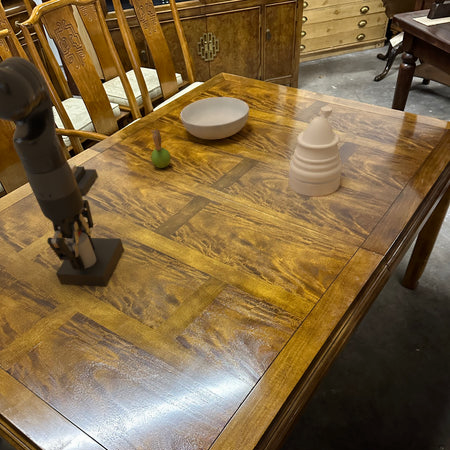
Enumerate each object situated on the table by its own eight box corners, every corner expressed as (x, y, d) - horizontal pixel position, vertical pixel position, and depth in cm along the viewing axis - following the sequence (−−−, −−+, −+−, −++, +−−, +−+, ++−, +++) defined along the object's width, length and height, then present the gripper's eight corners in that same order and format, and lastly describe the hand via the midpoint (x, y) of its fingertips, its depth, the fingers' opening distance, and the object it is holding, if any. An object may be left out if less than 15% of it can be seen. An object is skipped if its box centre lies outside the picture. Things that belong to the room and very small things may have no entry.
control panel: (60, 284, 87) (55, 273, 85) (82, 247, 95) (78, 237, 93) (106, 286, 86) (102, 275, 83) (124, 249, 94) (120, 238, 92)
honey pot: (314, 164, 113) (320, 95, 100) (350, 183, 106) (362, 111, 93) (278, 182, 109) (280, 111, 96) (313, 202, 101) (320, 129, 88)
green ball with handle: (152, 174, 116) (142, 132, 107) (154, 162, 120) (145, 121, 112) (171, 172, 116) (163, 130, 107) (172, 161, 120) (165, 119, 112)
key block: (46, 195, 112) (40, 182, 109) (61, 175, 119) (56, 162, 116) (85, 196, 111) (80, 182, 108) (98, 176, 117) (93, 163, 114)
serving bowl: (202, 114, 141) (200, 93, 136) (259, 122, 134) (259, 100, 129) (170, 142, 129) (167, 120, 124) (232, 152, 121) (230, 129, 116)
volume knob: (92, 268, 85) (83, 244, 81) (72, 268, 86) (61, 244, 81) (99, 254, 88) (90, 230, 84) (79, 254, 89) (69, 230, 84)
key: (59, 177, 111) (57, 171, 110) (65, 170, 114) (62, 164, 112) (72, 177, 111) (70, 171, 109) (77, 170, 113) (75, 164, 112)
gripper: (57, 210, 69) (89, 284, 81) (89, 166, 78) (113, 238, 91) (16, 209, 70) (53, 282, 82) (52, 166, 80) (81, 237, 92)
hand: (84, 259), depth 86 cm, fingers open, 5 cm apart
